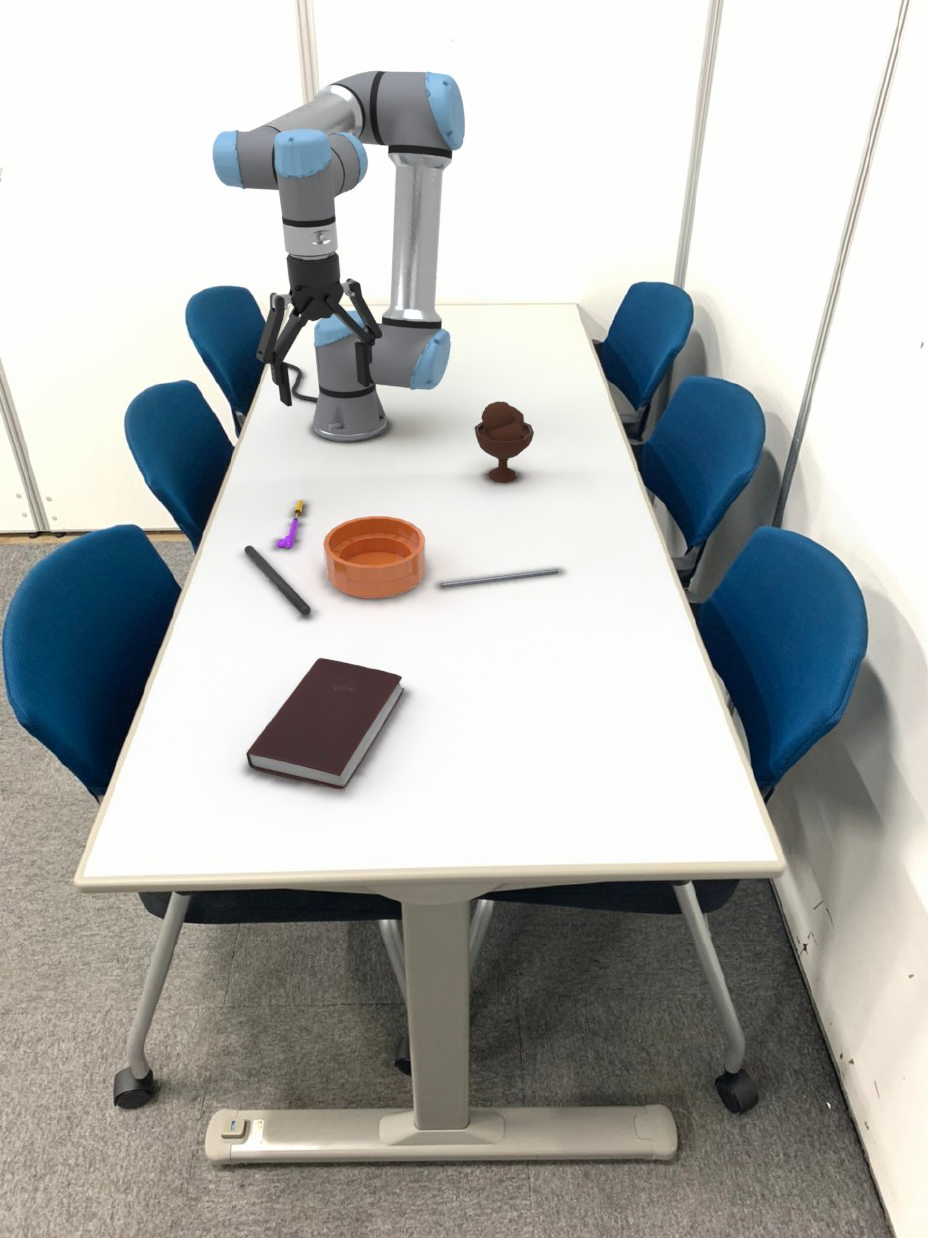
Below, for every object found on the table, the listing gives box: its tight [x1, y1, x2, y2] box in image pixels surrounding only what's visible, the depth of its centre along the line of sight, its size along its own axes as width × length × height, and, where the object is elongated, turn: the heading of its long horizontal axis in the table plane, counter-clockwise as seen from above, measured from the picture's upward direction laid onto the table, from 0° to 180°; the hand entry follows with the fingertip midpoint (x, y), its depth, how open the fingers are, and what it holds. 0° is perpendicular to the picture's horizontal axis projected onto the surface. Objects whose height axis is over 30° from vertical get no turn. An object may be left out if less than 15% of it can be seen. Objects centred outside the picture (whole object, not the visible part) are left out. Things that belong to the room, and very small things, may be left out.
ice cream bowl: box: [473, 400, 535, 484], centre depth 165 cm, size 11×11×15 cm
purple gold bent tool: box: [276, 499, 304, 549], centre depth 154 cm, size 3×1×16 cm
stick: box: [243, 545, 312, 616], centre depth 139 cm, size 20×2×10 cm
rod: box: [440, 568, 559, 589], centre depth 141 cm, size 1×19×1 cm, turn 103°
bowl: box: [323, 515, 427, 599], centre depth 140 cm, size 16×16×6 cm
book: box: [245, 657, 405, 790], centre depth 112 cm, size 12×19×3 cm, turn 161°
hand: (325, 393), depth 141 cm, fingers open, 13 cm apart
